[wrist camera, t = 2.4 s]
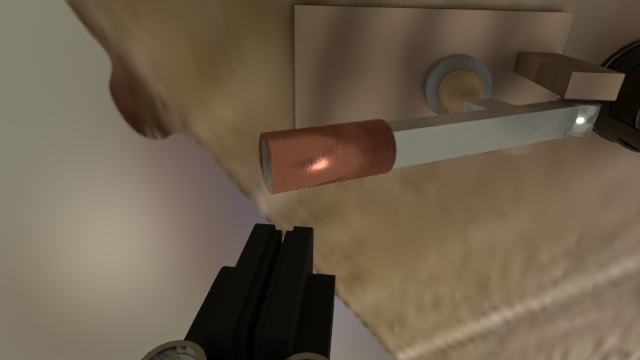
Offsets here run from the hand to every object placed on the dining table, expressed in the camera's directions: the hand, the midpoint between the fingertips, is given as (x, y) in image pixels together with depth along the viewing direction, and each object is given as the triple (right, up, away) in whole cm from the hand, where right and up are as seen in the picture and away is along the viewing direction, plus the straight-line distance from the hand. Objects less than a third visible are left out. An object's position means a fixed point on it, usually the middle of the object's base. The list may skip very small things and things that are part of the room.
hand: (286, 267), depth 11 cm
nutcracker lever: (+8, +6, +12) cm, 16 cm away
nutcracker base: (+10, +12, +23) cm, 28 cm away
